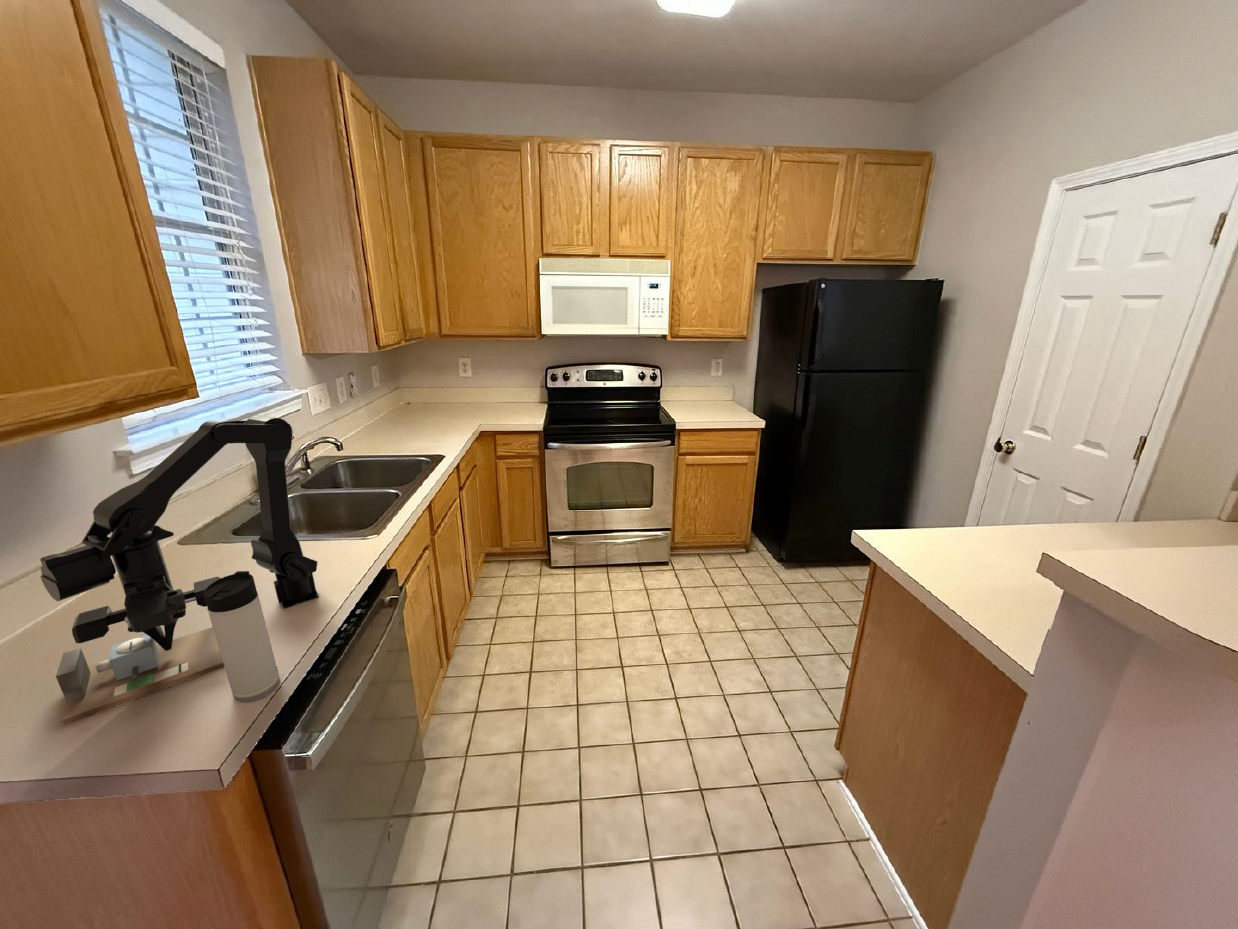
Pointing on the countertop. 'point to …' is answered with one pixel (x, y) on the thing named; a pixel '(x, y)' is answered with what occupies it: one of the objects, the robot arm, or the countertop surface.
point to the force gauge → (131, 658)
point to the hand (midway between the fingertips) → (168, 649)
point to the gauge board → (104, 691)
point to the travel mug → (242, 636)
